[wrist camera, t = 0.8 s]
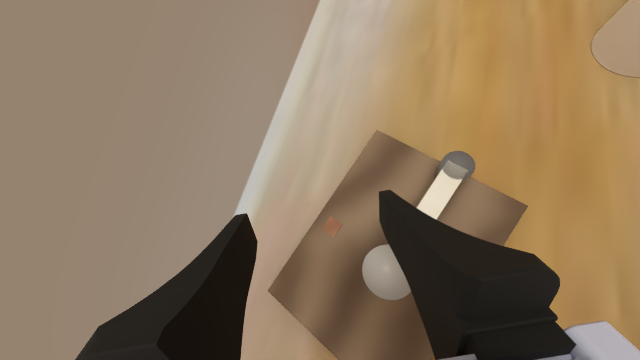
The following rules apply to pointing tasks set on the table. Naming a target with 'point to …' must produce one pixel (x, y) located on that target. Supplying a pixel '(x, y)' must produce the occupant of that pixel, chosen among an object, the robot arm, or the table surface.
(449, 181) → the coupling lever
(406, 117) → the table surface
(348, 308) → the base
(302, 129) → the table surface
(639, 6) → the cream tall block
